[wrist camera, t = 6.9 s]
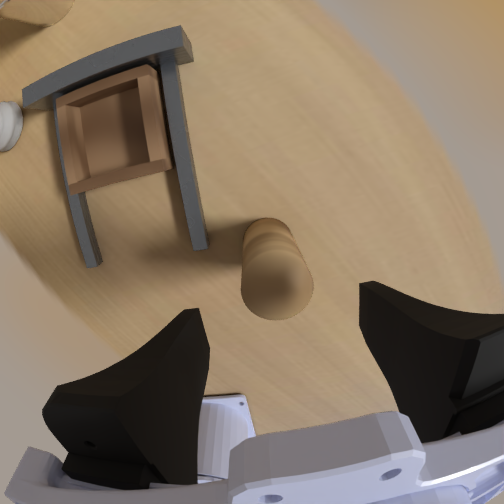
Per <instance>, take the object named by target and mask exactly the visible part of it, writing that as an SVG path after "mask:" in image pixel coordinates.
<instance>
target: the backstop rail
mask: <svg viewBox="0 0 504 504" xmlns="http://www.w3.org/2000/svg"><path fill="white" fill-rule="evenodd" d="M193 61H194V60H193V53H192V46H191V42H190V40H189V39H188V37H187V35H186V33H185V32H184V30H183V28H182V27H181V25H180V26H176V27H172V28H168V29H164V30H161V31H157V32H154V33H150V34H147V35H144V36H141V37H137V38H134V39H131V40H128V41H126V42H123V43H120V44H117V45H114V46H112V47H109V48H106V49H104V50H101V51H99V52H96V53H94V54H91V55H89V56H87V57H84V58H82V59H80V60H78V61H75V62H73V63H71V64H69V65H67V66H65V67H63V68H61V69H59V70H57V71H55V72H53V73H51V74H49V75H47V76H45V77H43V78H41V79H39V80H38V81H36V82H34V83H32V84H30V85H29V86H27V87H25V88H24V89H22V97H23V108H29V109H40V110H52V109H54V118H55V126H56V134H57V141H58V148H59V154H60V160H61V166H62V171H63V176H64V181H65V186H66V191H67V196H68V200H69V204H70V209H71V213H72V217H73V221H74V225H75V228H76V232H77V236H78V239H79V243H80V246H81V250H82V253H83V256H84V260H85V263H86V266H87V268H92V267H98V266H99V265H100V264H101V263H102V262H103V261H102V258H101V254H100V251H99V247H98V244H97V240H96V237H95V233H94V229H93V225H92V222H91V218H90V214H89V209H88V205H87V201H86V196H85V192H81V193H78V194H74V195H70V191H69V186H68V181H67V176H66V171H65V165H64V160H63V154H62V147H61V141H60V134H59V126H58V118H57V108H56V99H57V98H59V97H61V96H63V95H66V94H68V93H70V92H72V91H75V90H77V89H79V88H82V87H84V86H87V85H89V84H91V83H94V82H97V81H99V80H102V79H104V78H107V77H110V76H113V75H115V74H118V73H121V72H124V71H127V70H130V69H133V68H136V67H140V66H143V65H146V64H148V65H149V66H150V67H152V68H153V69H154V70H156V71H157V70H161V74H162V82H163V89H164V96H165V102H166V109H167V115H168V121H169V128H170V134H171V139H172V145H173V151H174V157H175V162H176V168H177V173H178V178H179V183H180V189H181V194H182V199H183V204H184V209H185V213H186V218H187V223H188V228H189V232H190V237H191V242H192V246H193V250H194V251H197V250H203V249H208V247H209V239H208V234H207V229H206V224H205V219H204V214H203V209H202V204H201V199H200V194H199V188H198V183H197V178H196V172H195V167H194V161H193V155H192V150H191V144H190V138H189V132H188V126H187V120H186V114H185V108H184V101H183V95H182V88H181V82H180V75H179V68H178V65H180V64H184V63H189V62H193Z"/></svg>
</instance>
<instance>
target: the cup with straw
mask: <svg viewBox="0 0 504 504" xmlns="http://www.w3.org/2000/svg"><path fill="white" fill-rule="evenodd" d="M74 2H75V0H0V18H3V19H9V20H14V21H18V22H23V23H27V24H32V25H38V26H41V27H48V26H51V25H53V24H55V23H56V22H58V21H59V20H61V19H62V18H63V17H64V16H65V15H66V14H67V13H68V11H69V10H70V9H71V7H72V6H73V4H74Z"/></svg>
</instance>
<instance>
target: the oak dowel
mask: <svg viewBox="0 0 504 504" xmlns="http://www.w3.org/2000/svg"><path fill="white" fill-rule="evenodd" d="M313 289H314V283H313V278H312V275H311V273H310V271H309V269H308V267H307V264H306V262H305V260H304V258H303V256H302V254H301V252H300V250H299V248H298V246H297V244H296V242H295V240H294V238H293V236H292V234H291V232H290V230H289V228H288V227H287V226H286V225H285V224H284V223H283V222H281V221H280V220H277V219H274V218H263V219H259V220H257V221H255V222H254V223H252V224H251V225H250V226H249V227H248V229H247V230H246V232H245V234H244V238H243V256H242V278H241V295H242V298H243V301H244V303H245V305H246V306H247V307H248V309H249V310H250V311H251V312H252V313H254V314H255V315H257V316H259V317H261V318H264V319H267V320H284V319H288V318H291V317H293V316H295V315H297V314H298V313H300V312H301V311H302V310H303V309H304V308H305V307H306V306H307V305H308V303H309V301H310V299H311V297H312V294H313Z"/></svg>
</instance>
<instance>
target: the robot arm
mask: <svg viewBox="0 0 504 504" xmlns="http://www.w3.org/2000/svg"><path fill="white" fill-rule="evenodd" d="M359 326H360V329H361V331H362V334H363V337H364V339H365V342H366V344H367V346H368V348H369V350H370V351H371V353H372V355H373V357H374V358H375V360H376V362H377V364H378V365H379V367H380V369H381V371H382V373H383V374H384V376H385V378H386V380H387V382H388V384H389V386H390V388H391V390H392V393H393V396H394V398H395V401H396V404H397V406H398V409H399V412H400V413H399V412H397V411H389V412H380V413H372V414H368V415H364V416H360V417H356V418H352V419H347V420H343V421H338V422H334V423H329V424H324V425H318V426H313V427H307V428H301V429H294V430H288V431H280V432H272V433H267V434H263V435H259V436H256V434H255V430H254V427H253V423H252V419H251V415H250V412H249V408H248V404H247V400H246V397H245V396H244V395H242V394H239V395H228V396H215V397H203V395H204V390H205V386H206V381H207V375H208V370H209V359H210V347H209V343H208V340H207V336H206V333H205V329H204V325H203V322H202V318H201V314H200V311H199V308H194V309H185V310H183V311H182V312H181V313H180V314H178V315H177V316H176V317H175V318H174V319H173V320H172V321H171V322H170V323H169V324H168V325H167V326H166V327H164V328H163V329H162V330H161V331H160V332H159V333H158V334H157V335H155V336H154V337H153V338H152V339H151V340H149V341H148V342H147V343H146V344H145V345H143V346H142V347H141V348H139V349H138V350H137V351H135V352H134V353H132V354H131V355H129V356H128V357H126V358H125V359H123V360H121V361H119V362H118V363H116V364H114V365H112V366H110V367H109V368H106V369H104V370H102V371H100V372H98V373H95V374H93V375H90V376H88V377H85V378H82V379H80V380H76V381H73V382H69V383H66V384H62V385H58V386H57V387H56V388H55V390H54V392H53V393H52V395H51V396H50V398H49V400H48V401H47V403H46V405H45V406H44V408H43V409H42V415H43V418H44V421H45V423H46V425H47V426H48V428H49V430H50V431H51V432H52V433H53V435H54V436H55V437H56V438H57V440H58V441H59V442H60V443H61V444H62V445H63V447H64V448H65V449H66V450H67V451H68V452H69V453H68V455H67V457H66V460H65V462H64V463H62V462H61V461H60V460H59V459H58V458H57V457H56V456H54V455H53V454H51V453H49V452H46V451H42V450H39V449H36V448H33V447H28V448H27V450H26V452H25V454H24V456H23V457H22V459H21V461H20V463H19V465H18V467H17V469H16V471H15V473H14V474H13V477H12V478H11V481H10V482H9V485H8V486H7V489H6V491H5V496H7V497H8V498H9V499H10V500H11V501H13V502H14V503H15V504H485V503H486V502H488V501H489V500H491V499H492V498H494V497H495V496H497V495H498V494H499V493H501V492H502V491H504V314H480V313H470V312H463V311H457V310H452V309H448V308H444V307H440V306H436V305H433V304H430V303H427V302H424V301H421V300H419V299H416V298H413V297H411V296H409V295H406V294H404V293H402V292H399V291H397V290H395V289H393V288H390V287H388V286H386V285H383V284H381V283H379V282H376V281H369V282H364V283H359ZM240 402H243V403H240Z"/></svg>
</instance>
